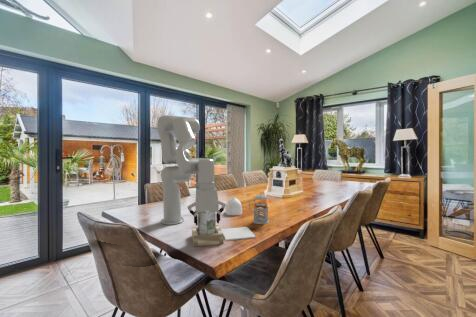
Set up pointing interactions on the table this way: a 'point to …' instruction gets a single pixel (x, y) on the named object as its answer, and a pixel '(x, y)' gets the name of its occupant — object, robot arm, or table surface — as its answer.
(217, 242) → the holder
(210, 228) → the syrup box
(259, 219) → the grey lantern
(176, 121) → the robot arm
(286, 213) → the table surface
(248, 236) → the mat
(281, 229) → the table surface
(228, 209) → the teardrop
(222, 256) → the table surface
